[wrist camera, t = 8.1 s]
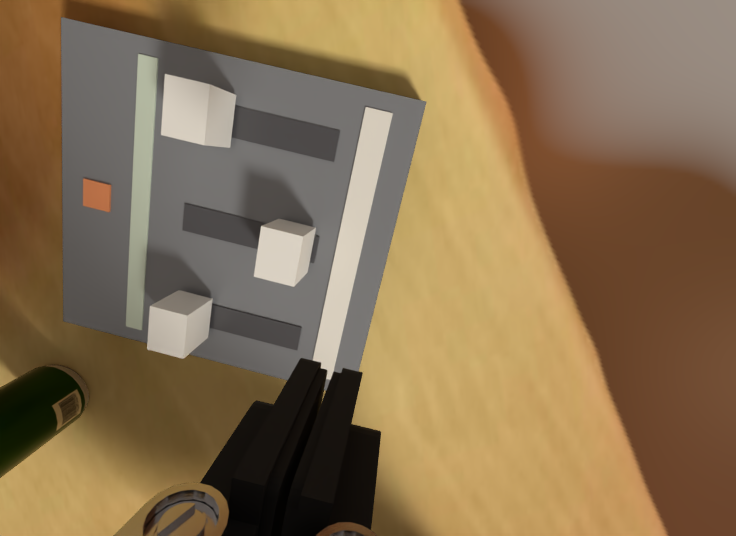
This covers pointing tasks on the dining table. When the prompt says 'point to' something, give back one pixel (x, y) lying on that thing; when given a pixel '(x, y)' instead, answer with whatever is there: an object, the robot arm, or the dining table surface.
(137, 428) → the dining table surface
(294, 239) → the handle
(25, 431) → the beer can
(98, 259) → the panel
